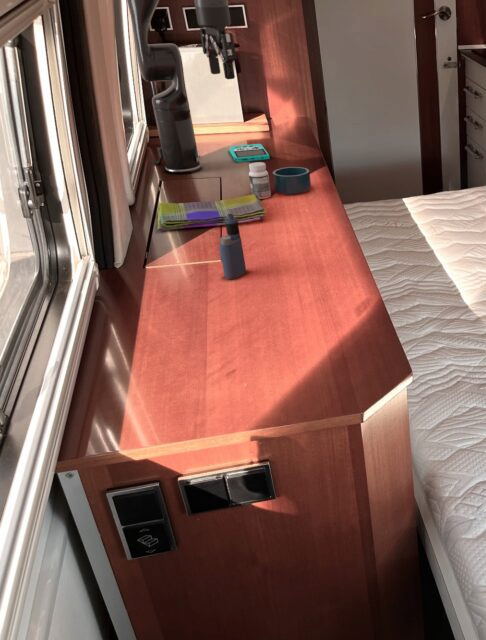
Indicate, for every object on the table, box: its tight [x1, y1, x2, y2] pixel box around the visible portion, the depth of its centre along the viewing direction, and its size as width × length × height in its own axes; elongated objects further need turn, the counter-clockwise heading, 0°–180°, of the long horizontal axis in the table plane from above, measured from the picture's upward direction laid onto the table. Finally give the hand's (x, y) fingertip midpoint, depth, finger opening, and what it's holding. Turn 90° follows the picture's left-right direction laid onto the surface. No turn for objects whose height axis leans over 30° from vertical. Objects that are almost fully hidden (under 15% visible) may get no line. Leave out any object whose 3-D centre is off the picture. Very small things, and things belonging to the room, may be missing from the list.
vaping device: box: [218, 214, 247, 280], centre depth 159 cm, size 3×5×12 cm, turn 161°
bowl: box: [272, 166, 312, 196], centre depth 213 cm, size 9×9×5 cm
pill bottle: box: [248, 161, 272, 200], centre depth 207 cm, size 5×5×8 cm
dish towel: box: [157, 194, 268, 231], centre depth 194 cm, size 18×24×3 cm
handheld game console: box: [229, 143, 271, 163], centre depth 246 cm, size 10×16×1 cm, turn 24°
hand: (222, 76), depth 200 cm, fingers open, 8 cm apart
